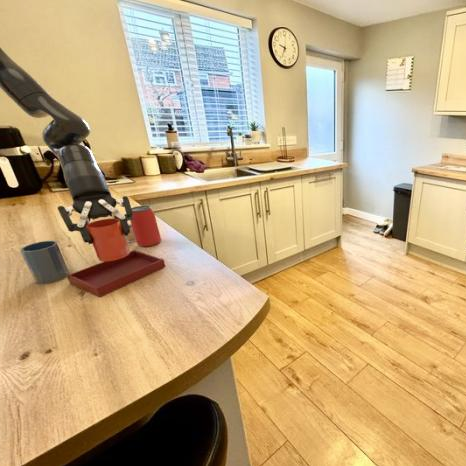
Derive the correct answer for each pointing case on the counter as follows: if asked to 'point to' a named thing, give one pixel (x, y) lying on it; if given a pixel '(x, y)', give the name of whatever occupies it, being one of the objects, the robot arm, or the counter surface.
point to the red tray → (115, 273)
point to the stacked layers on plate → (130, 234)
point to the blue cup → (45, 261)
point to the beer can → (145, 226)
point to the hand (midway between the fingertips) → (108, 238)
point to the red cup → (108, 239)
